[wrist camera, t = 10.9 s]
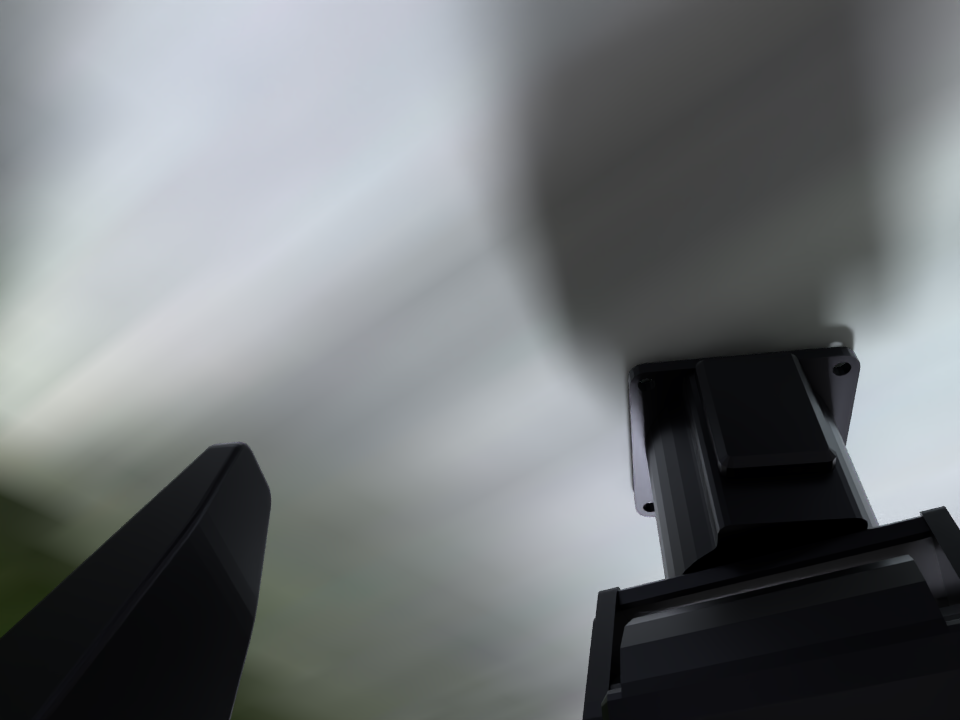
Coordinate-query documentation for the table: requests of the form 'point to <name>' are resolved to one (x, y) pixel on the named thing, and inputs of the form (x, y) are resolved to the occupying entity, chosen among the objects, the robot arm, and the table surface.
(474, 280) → the table surface
